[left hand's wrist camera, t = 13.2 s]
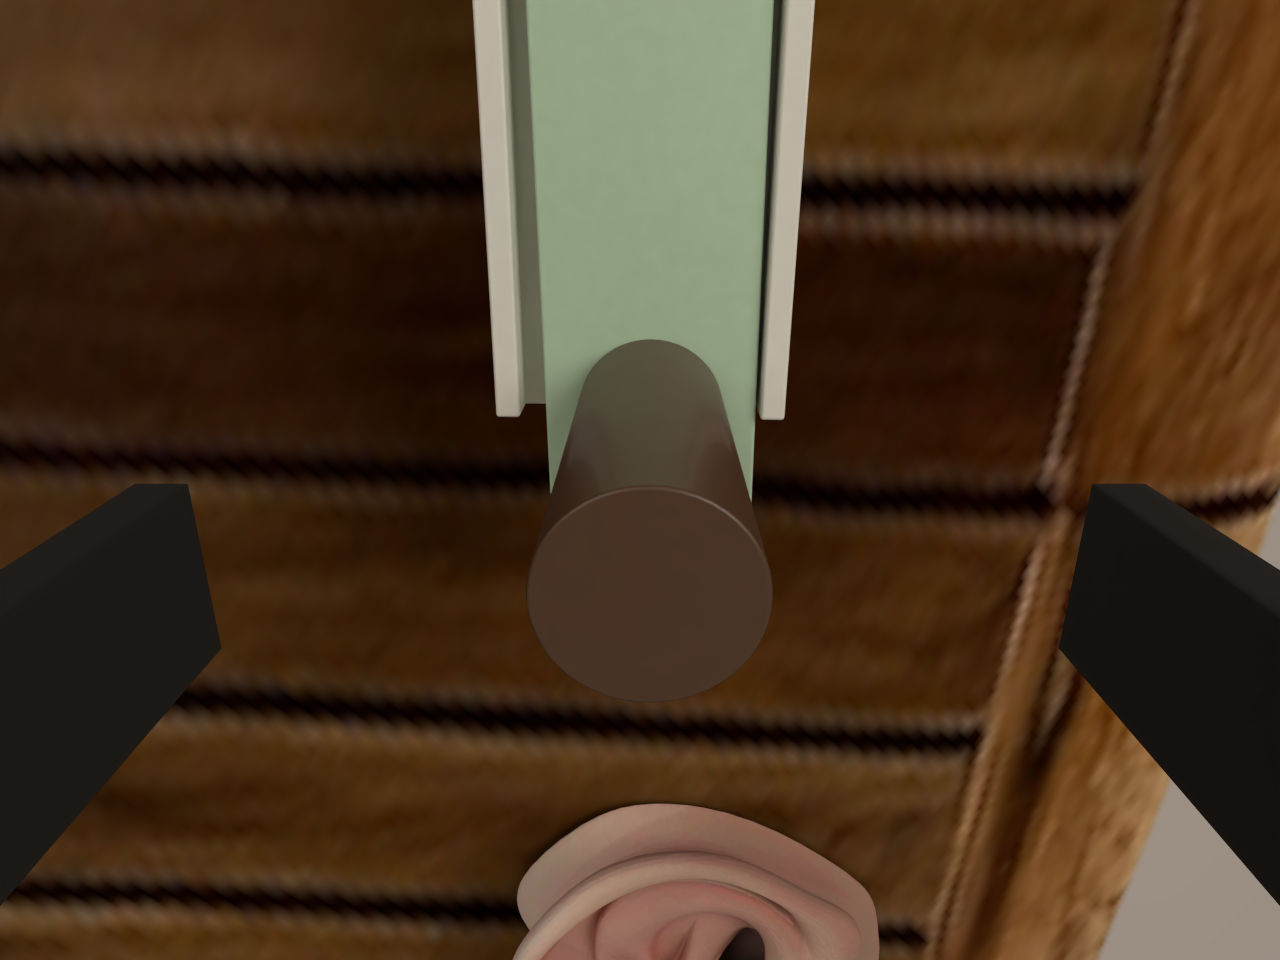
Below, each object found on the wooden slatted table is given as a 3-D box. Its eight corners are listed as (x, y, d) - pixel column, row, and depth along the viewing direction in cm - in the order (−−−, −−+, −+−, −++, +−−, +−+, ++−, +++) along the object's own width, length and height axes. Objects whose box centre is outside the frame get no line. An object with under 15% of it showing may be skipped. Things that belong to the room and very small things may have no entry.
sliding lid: (746, 524, 19) (814, 798, 11) (555, 524, 20) (486, 797, 11) (785, -381, 14) (987, -1184, 5) (512, -377, 14) (302, -1165, 5)
